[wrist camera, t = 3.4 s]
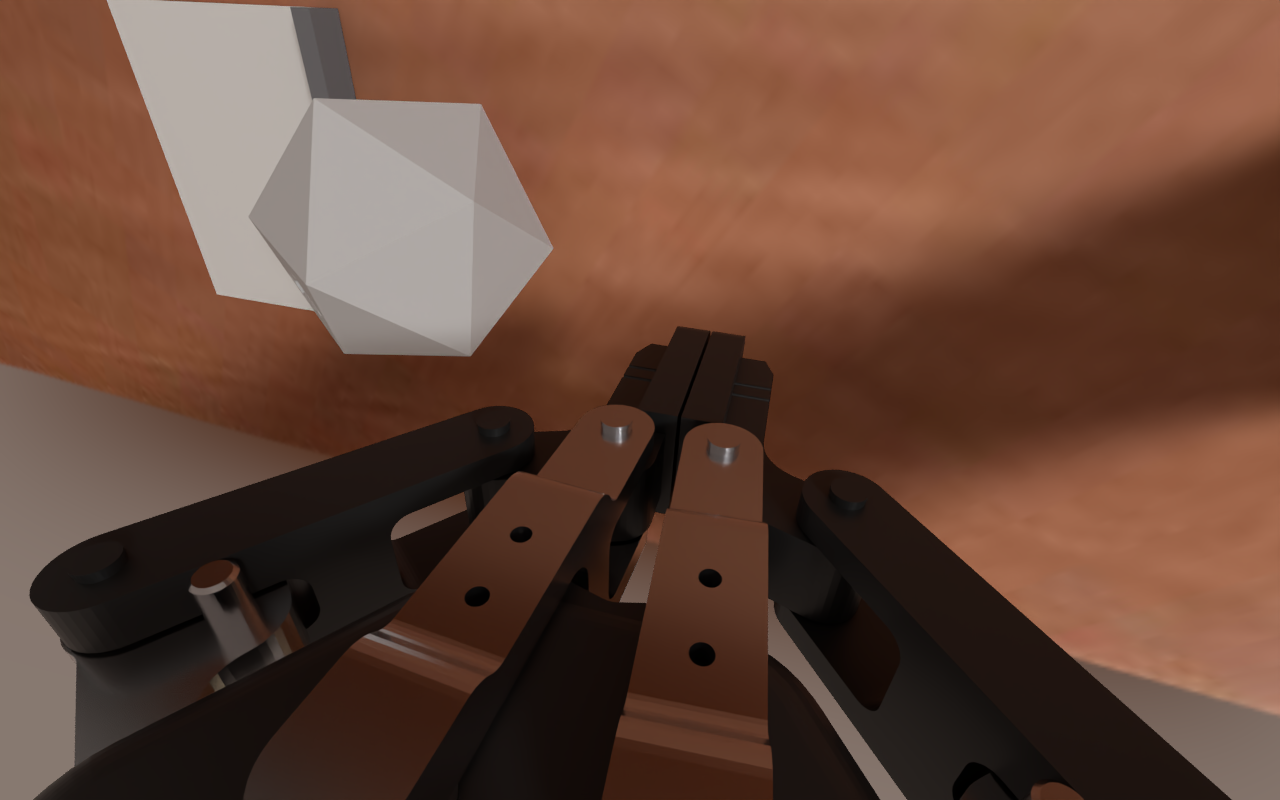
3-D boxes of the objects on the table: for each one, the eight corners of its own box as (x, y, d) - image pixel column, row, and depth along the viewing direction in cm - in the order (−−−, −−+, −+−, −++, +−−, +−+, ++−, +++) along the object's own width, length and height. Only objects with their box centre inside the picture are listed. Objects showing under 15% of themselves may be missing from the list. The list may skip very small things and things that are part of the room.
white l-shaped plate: (337, 8, 22) (308, 7, 21) (400, 322, 29) (381, 335, 28) (113, -2, 25) (75, -4, 23) (221, 292, 32) (197, 302, 31)
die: (348, 142, 25) (115, 199, 17) (513, 38, 21) (312, 47, 13) (455, 319, 28) (301, 437, 20) (614, 257, 25) (503, 373, 16)
